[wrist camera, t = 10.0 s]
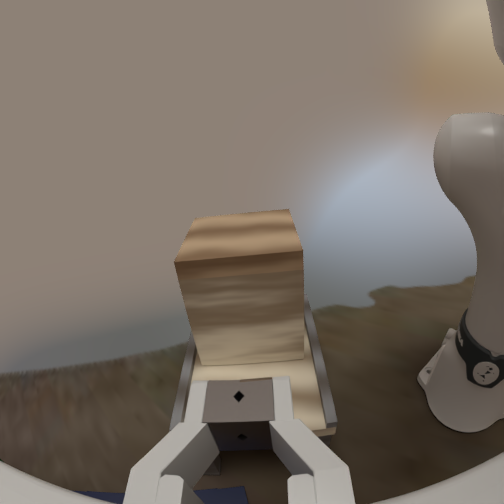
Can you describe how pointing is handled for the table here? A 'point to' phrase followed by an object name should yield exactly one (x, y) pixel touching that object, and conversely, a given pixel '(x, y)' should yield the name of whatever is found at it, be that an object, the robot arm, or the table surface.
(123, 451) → the table surface
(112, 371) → the table surface
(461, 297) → the table surface
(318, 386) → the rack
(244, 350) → the wood grain block
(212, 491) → the blue folder
